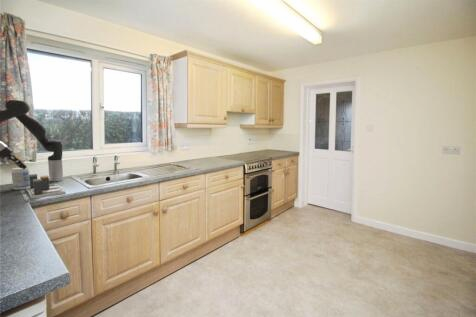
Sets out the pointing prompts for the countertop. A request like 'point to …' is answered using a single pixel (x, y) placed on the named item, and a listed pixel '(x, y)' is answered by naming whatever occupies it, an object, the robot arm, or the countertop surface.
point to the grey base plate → (37, 190)
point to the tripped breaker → (45, 182)
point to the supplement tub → (20, 178)
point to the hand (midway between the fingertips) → (24, 167)
